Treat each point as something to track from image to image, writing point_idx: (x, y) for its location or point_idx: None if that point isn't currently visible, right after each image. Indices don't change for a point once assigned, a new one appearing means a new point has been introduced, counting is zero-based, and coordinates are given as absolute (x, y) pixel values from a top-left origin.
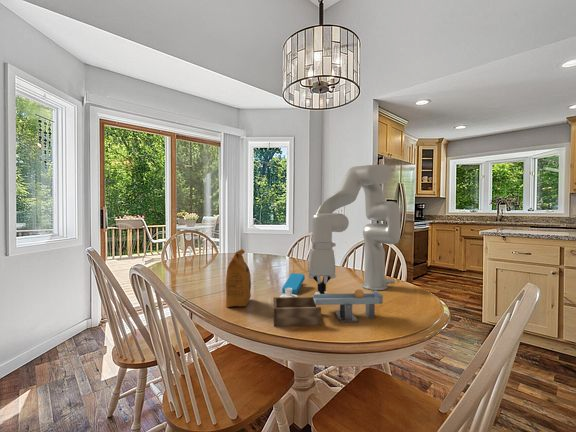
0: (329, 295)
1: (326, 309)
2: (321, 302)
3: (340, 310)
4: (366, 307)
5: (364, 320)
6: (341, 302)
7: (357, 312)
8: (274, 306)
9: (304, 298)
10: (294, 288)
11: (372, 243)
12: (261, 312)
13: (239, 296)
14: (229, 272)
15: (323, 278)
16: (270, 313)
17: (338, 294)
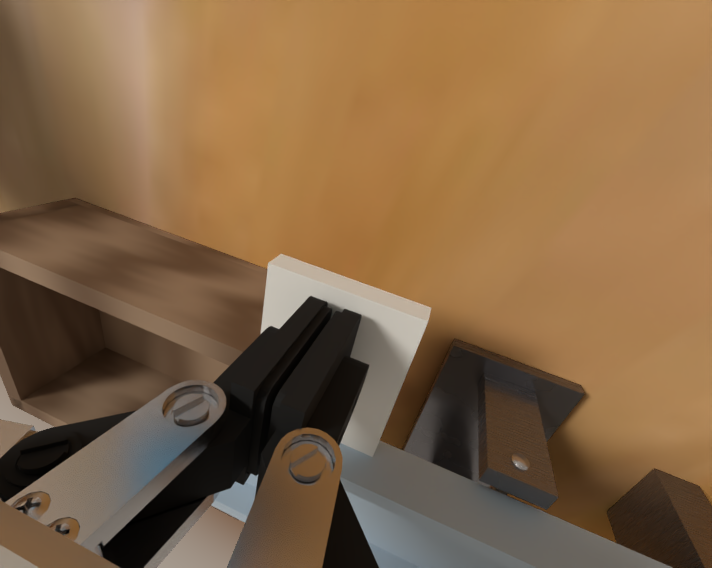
0: (349, 478)
1: (421, 272)
2: (253, 494)
3: (479, 391)
4: (669, 543)
5: (549, 508)
6: (397, 561)
7: (625, 421)
8: (6, 382)
9: (164, 331)
10: None
11: None
12: (12, 159)
13: None
14: None
15: (260, 515)
16: (61, 195)
17: (439, 531)
